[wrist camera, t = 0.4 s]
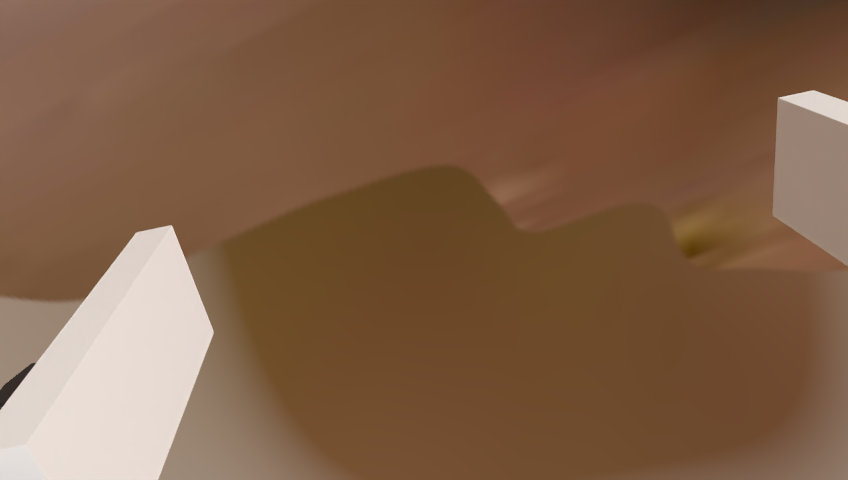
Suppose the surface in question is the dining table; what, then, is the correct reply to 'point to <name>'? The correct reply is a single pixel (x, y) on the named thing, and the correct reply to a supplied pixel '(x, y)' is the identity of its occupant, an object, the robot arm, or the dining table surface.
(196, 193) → the dining table surface
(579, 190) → the dining table surface
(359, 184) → the dining table surface
